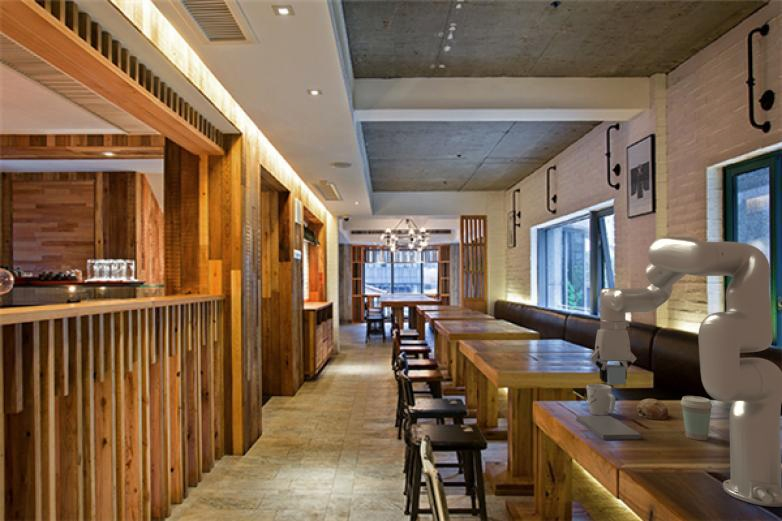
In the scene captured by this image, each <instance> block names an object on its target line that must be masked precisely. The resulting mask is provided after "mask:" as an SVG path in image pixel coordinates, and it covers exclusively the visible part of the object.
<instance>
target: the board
mask: <svg viewBox="0 0 782 521" xmlns="http://www.w3.org/2000/svg"><path fill="white" fill-rule="evenodd" d="M576 421H577V423H579V424H580V425H581V426H583V427H585V428H586V429H588V430H589V431H590V432H591V433H593V434H594V435H596V436H598V437H599V438H600V439H601V440H603V441H608V440H609V441H613V440H615V441H616V440H617V441H618V440H642V434H641V433H640V432H638V431H636V430H634V429H633V428H632V427H629V426H628V425H626V424H624V423H623V422H621V421H620V420H618V419H617V418H614V417H613V416H612V415H606V416H598V415H581V416H579V415H578V416H577V415H576Z"/></svg>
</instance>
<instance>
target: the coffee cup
mask: <svg viewBox="0 0 782 521" xmlns="http://www.w3.org/2000/svg"><path fill="white" fill-rule="evenodd" d="M711 401H712V400H710V399H709V398H706V397H702V396H695V395H685V396H682V398H681V400H680V405H681V410H682V417H683V423H684V429H685V436H686V437H687V438H688V437H689V439H691V438H692V440H696V441H708V439H709V431H710V424H711V423H710V422H711V415H712V408H713V404H712V402H711Z"/></svg>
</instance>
